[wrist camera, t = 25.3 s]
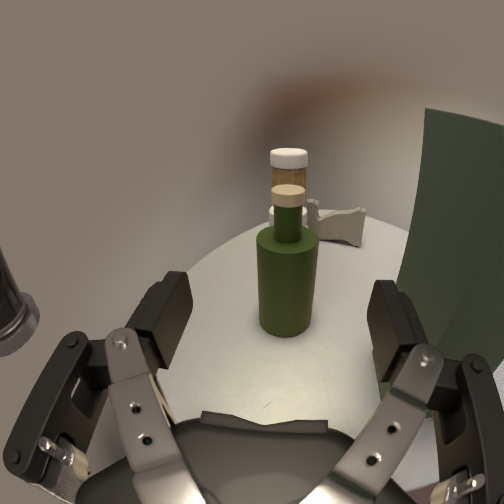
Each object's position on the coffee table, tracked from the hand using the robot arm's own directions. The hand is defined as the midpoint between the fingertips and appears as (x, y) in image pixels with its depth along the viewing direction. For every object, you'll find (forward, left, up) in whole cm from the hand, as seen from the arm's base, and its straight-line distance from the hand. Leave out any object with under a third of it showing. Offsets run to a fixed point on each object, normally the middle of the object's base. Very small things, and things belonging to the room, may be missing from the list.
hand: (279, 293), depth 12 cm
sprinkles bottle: (0, +25, -12) cm, 28 cm away
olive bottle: (0, +11, -12) cm, 16 cm away
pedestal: (+12, +3, -12) cm, 17 cm away
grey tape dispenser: (+6, +27, -12) cm, 31 cm away
